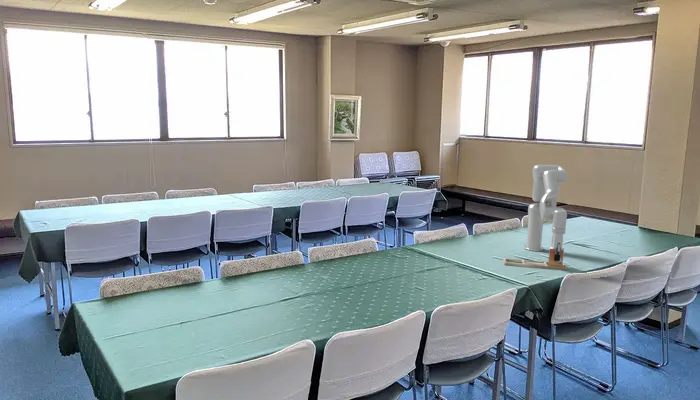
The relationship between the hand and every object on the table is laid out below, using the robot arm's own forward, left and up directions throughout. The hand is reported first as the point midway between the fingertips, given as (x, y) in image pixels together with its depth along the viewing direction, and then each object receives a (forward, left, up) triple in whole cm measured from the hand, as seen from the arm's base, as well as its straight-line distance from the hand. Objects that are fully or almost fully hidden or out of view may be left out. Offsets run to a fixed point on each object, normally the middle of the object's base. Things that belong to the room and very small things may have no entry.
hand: (555, 258), depth 319 cm
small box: (0, 0, -4) cm, 4 cm away
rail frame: (0, -12, -5) cm, 13 cm away
